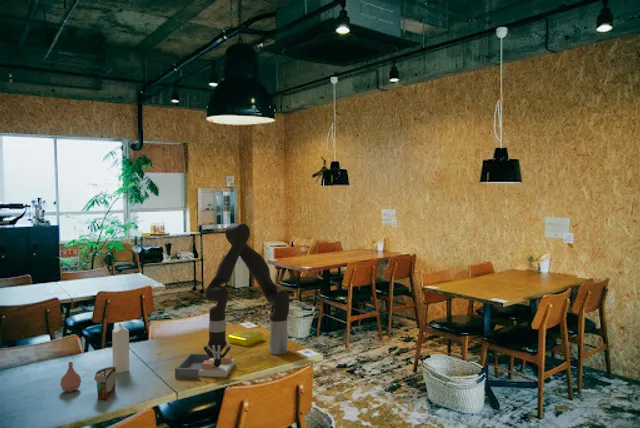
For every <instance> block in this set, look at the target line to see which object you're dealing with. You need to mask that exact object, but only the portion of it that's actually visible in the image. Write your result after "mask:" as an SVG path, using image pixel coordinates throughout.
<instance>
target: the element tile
mask: <svg viewBox="0 0 640 428" xmlns="http://www.w3.org/2000/svg"><path fill="white" fill-rule="evenodd" d="M227 340H228V343H229V344H233V345H237V346H241V347H250V346H253V345H256V344H257V343H259V342H263V341H264V333H263V332H260V331H253V330H249V329H241V330H240V331H235V332H234V333H230V334H228V336H227ZM228 343H227V344H228Z"/></svg>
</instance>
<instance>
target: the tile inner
mask: <svg viewBox="0 0 640 428" xmlns="http://www.w3.org/2000/svg"><path fill="white" fill-rule="evenodd" d="M232 355H233V354H226V355H225V356H224V358H221V364H229V363H230V362H231V360H232V359H233V357H232Z"/></svg>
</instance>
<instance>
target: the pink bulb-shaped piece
mask: <svg viewBox="0 0 640 428" xmlns="http://www.w3.org/2000/svg"><path fill="white" fill-rule="evenodd" d="M73 364H74V363H73V361H69V362H68V369H67V371H66V373H65V374H64V375H63V376H62V377H61V378H60V382H59V383H60V384H59V385H60V387H61V390H62V391H63V392H64V391H65V392H68V393H72V392H74V391H75V390H77V389H79V388H80V386H81V383H82V378H81V376H80V374H79V373H77V371H75V369H74V368H73V367H74V365H73Z"/></svg>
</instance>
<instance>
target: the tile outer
mask: <svg viewBox="0 0 640 428" xmlns="http://www.w3.org/2000/svg"><path fill="white" fill-rule="evenodd" d="M214 367H215V366H214V360H205V361H204V362H203V363H202V369H206V370H213V368H214Z"/></svg>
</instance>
